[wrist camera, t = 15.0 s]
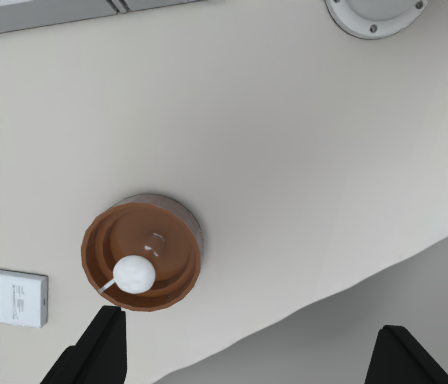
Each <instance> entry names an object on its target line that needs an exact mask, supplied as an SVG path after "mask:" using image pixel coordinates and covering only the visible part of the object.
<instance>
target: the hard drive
mask: <svg viewBox="0 0 448 384" xmlns="http://www.w3.org/2000/svg"><path fill="white" fill-rule="evenodd" d="M47 291H48V279H47V277H46V276H39V275H33V274H26V273H19V272H12V271H5V270H0V323H4V324H12V325H20V326H28V327H35V328H42V327H43V326H44V325H45V324H46V321H47Z"/></svg>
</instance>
